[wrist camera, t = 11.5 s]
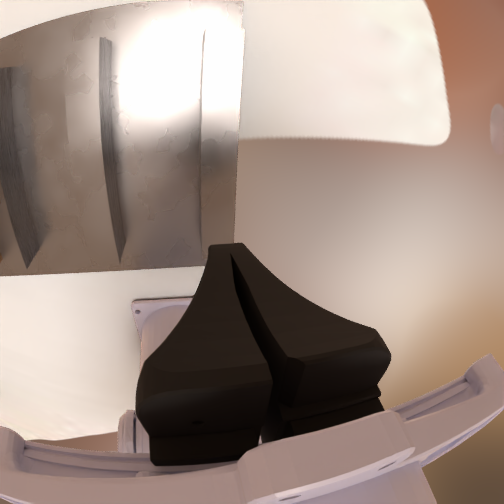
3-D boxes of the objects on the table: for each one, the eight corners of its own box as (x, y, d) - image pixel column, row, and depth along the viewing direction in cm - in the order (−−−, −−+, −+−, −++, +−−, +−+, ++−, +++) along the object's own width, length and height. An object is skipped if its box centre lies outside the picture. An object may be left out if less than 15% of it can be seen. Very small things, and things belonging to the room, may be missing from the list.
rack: (229, 259, 24) (236, 287, 21) (-25, 273, 19) (-40, 296, 16) (241, 2, 14) (252, -11, 11) (-66, 76, 9) (-92, 83, 6)
